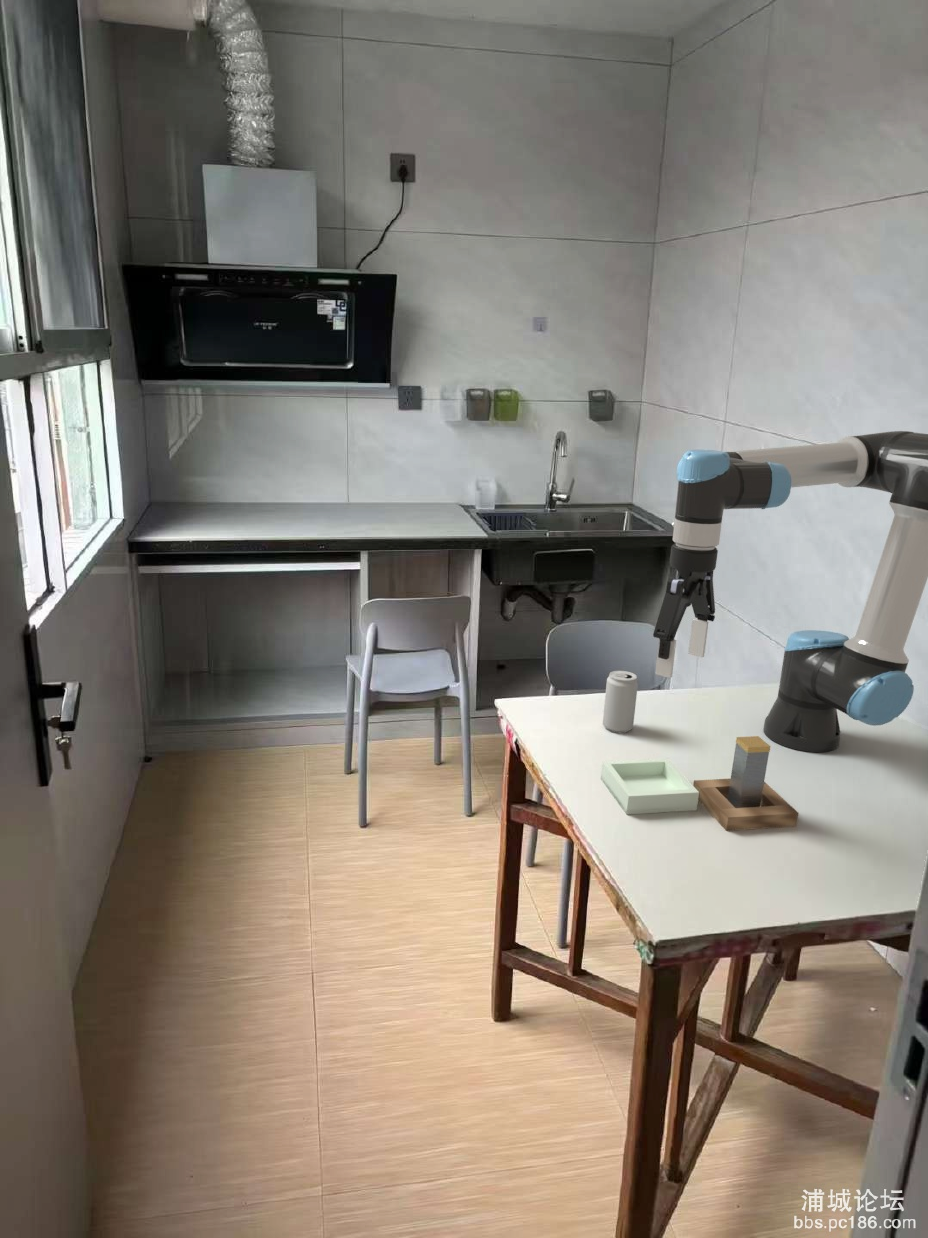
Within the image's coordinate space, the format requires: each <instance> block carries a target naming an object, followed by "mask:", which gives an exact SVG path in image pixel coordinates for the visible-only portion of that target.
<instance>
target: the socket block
mask: <svg viewBox="0 0 928 1238" xmlns="http://www.w3.org/2000/svg"><path fill="white" fill-rule="evenodd" d="M730 779H731V777H730V778H716V779H712V778H711V779H698V780H695V779H694V780H693V783H692V785H693V786H694V787H695V788H696V789H697V791H698V792H699V797H698V802H700V803H701V805H702V806H703V807H704V808H705V809H706V811H708V813H710V814H711V816H712V817H713V818H714V819H715V820H716V821H717V822H718V824H720V826H721V827H722V828H723V829H724V830H725V831H729V832H730V831H741V830H756V829H757V830H758V829H773V828H789V827H797V823H798V820H799V819H798V818H799V812H798V811H797V810H796V809H795V808H794V807H793V806H791V804H790V803H788V802H787V801H786V800H785V799H784V798H783V797H781V796H780V794H779V793H777V792H776V791H775V790H774V789H773V788H772V787H771V786H770V785H769V784H768V783H767V782H766V781H764V786H763V791H762V797H761V803H760V807H748V808H735V807H734V806H733V805H732V804H731V803H730V802H729V801H728V800H727V798H728V792H729V786H730Z"/></svg>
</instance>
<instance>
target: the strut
mask: <svg viewBox="0 0 928 1238" xmlns="http://www.w3.org/2000/svg"><path fill="white" fill-rule="evenodd" d="M770 751H771V745H769V744H768V743H767V742H766V741H764V739H763V738H761V737H760V736H758V735H757V736H751V735H750V736H736V739H735V748H734V755H733V762H732V768H731V773H730V774H731V775H730V778H731V779H730V778H729V779H730V786H729V792H728V798H727V800H728V801H729V802H730V803H731V804H732V805H733V806H734V807H735V808H748V807H761V806H760V803H761V797H762V791H763V786H764V782H765V779H766V773H767V767H768V761H769V757H770V756H769V755H770Z"/></svg>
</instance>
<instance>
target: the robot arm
mask: <svg viewBox="0 0 928 1238" xmlns="http://www.w3.org/2000/svg"><path fill="white" fill-rule="evenodd" d="M676 467H677V468H676V480H677V482H678V483H677V494H676V495H677V496H676V503H675V514H674V521H672V523H671V527H672V528H673V533H672V541H673V542H674V543H673V544H672V545H671V546H670V557H669V566H670V567H671V568H673V569H675V570H676V571H677V574H676V578H675V579H673V578H668V580H667V581H666V589H665V594H664V598H663V601H662V604H661V606H660V610H659V614H658V616H657V617H658V618H657V620H656V624H655V627H654V629H653V634H652V636H653V637H654V638H657V639H658V646H657V652H656V653H657V657H656V664H655V673H654V674H655V675H658V676H660V677H665V678H668V679H672V678H673V670H674V663H675V657H676V656H675V655H676V648H677V647H676V646H677V639H675V637H676V634H677V632H678V631H679V627H680V624H681V622H682V620H683V618H684V614H685V613H686V610H687V608H688V607H690V606H691V608H692V610H693V614H694V618H693V619H692V620H691V628H690V635H689V645H688V652H687V654H688V655H691V656H695V657H699V658H704V657H705V652H706V646H707V645H706V644H707V636H708V629H709V622H714V621H715V617H716V616H715V613H716V604H715V593H714V579H713V578H714V571H715V570H716V568H717V567H716V566H717V559H718V552H719V551H718V548H717V546H718V545H720V541H721V540H720V538H721V531H722V524H723V523H722V521H723V514H724V510H731V509H732V510H735V509H737V510H739V509H744V510H745V509H746V510H747V509H752V510H753V509H760V510H765V509H769V508H770V509H771V508H777V507H778V508H779V507H781V506H782V505H783V504H784V503H786V502H787V500H788V499H789V497H790V494H791V489H792V488H801V487H809V486H821V485H823V486H824V485H832V484H838V485H839V486H841V487H843V488H855V487H856V488H859V487H860V488H867V489H872V490H876V491H880V492H881V491H882V492H885V493H890V494H891V496H890V500H889V502H888V504H889V505H890V507H891V509H892V511H893V515H894V517H893V519H892V523H891V525H890V528H889V531H888V534H887V538H886V541H885V544H884V547H883V550H882V552H881V555H880V559H879V562H878V565H877V568H876V571H875V574H874V576H873V580H872V584H871V586H870V590H869V592H868V593H869V594H868V596H867V599H866V602H865V606H864V609H863V611H862V614H861V616H860V617H861V618H860V621H859V624H858V626H857V629H856V632H855V636H853V637H852V638H849V637H848V636H847V635H846V634H843V633H839V632H834V631H827V630H814V629H813V630H811V629H808V630H806V629H805V630H798V631H794V632H792V633H790V635H788V637H787V641H786V642H787V643H786V646H785V648H784V652H783V658H782V659H783V660H782V665H781V673H780V680H779V686H778V687H779V688H778V693H777V697H776V700H775V701H774V702H773V704H772V707H771V709H770V710H769V712H768V714H767V716H766V717H765V719H764V724H763V733H764V734H765V736H766V737H767V738H768V739H769V740H771V741H773V742H774V743H776V744H779V745H781V746H784V747H786V748H789V749H794V750H798V751H803V752H812V753H825V752H831V751H833V750H836V749H837V748H838V747H839V746H840V740H841V727H840V723H839V716H838V711H840V712H841V713H844V714H846V715H847V716H848V717H849V718H851V719H853V720H855V721H858V722H861V723H863V724H866V725H869V726H874V727H875V726H883V725H886V724H888V723H890V722H892V721H893V720H894V719H896V718H898V717H899V716H900V715H902V713H904V711H905V710H906V709H907V708H908V707H909V705H910V703H911V701H912V698H913V696H914V692H915V691H914V690H915V688H914V684H913V680H912V678H911V677H910V676H909V675H908V674H907V673H906V670H907V668H908V665H909V661H910V660H909V658H908V656H907V654H906V653H905V650H904V649H905V646H906V642H907V640H908V638H909V637H908V636H909V634H910V630H911V628H912V625H913V621H914V620H915V616H916V613H917V610H918V607H919V604H920V601H921V598H922V595H923V592H924V590H925V587H926V584H927V581H928V433H919V432H914V431H907V430H904V431H903V430H895V431H887V432H886V431H885V432H875V433H869V434H861V435H851V436H844V437H842V438H840V439H838V441H837V442H832V443H821V444H820V443H819V444H818V443H817V444H810V445H809V444H807V445H796V446H795V445H794V446H785V447H784V446H783V447H772V448H771V447H770V448H769V447H768V448H759V449H756V448H755V449H747V450H732V451H722V450H712V449H689V450H687V451H686V452H684V454H683V456H682V458H681V459H680V460H679V462H678V464H677V466H676ZM837 710H838V711H837Z"/></svg>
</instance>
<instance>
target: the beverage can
mask: <svg viewBox="0 0 928 1238" xmlns="http://www.w3.org/2000/svg"><path fill="white" fill-rule="evenodd" d="M638 686H639V680H638V677H637V674H635V673H633V672H630V671H626V670H613V671H611V672H609V675H608V677H607V678H606V685H605V695H604V703H603V704H604V705H603V706H604V707H603V716H602V725H603V726H604V728H605V729H606V730H608V731H610V732H612V733H619V734H623V733H628V732H629V731H630V730H632V729H633V728H634V722H635V712H636V703H637V695H638Z"/></svg>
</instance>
